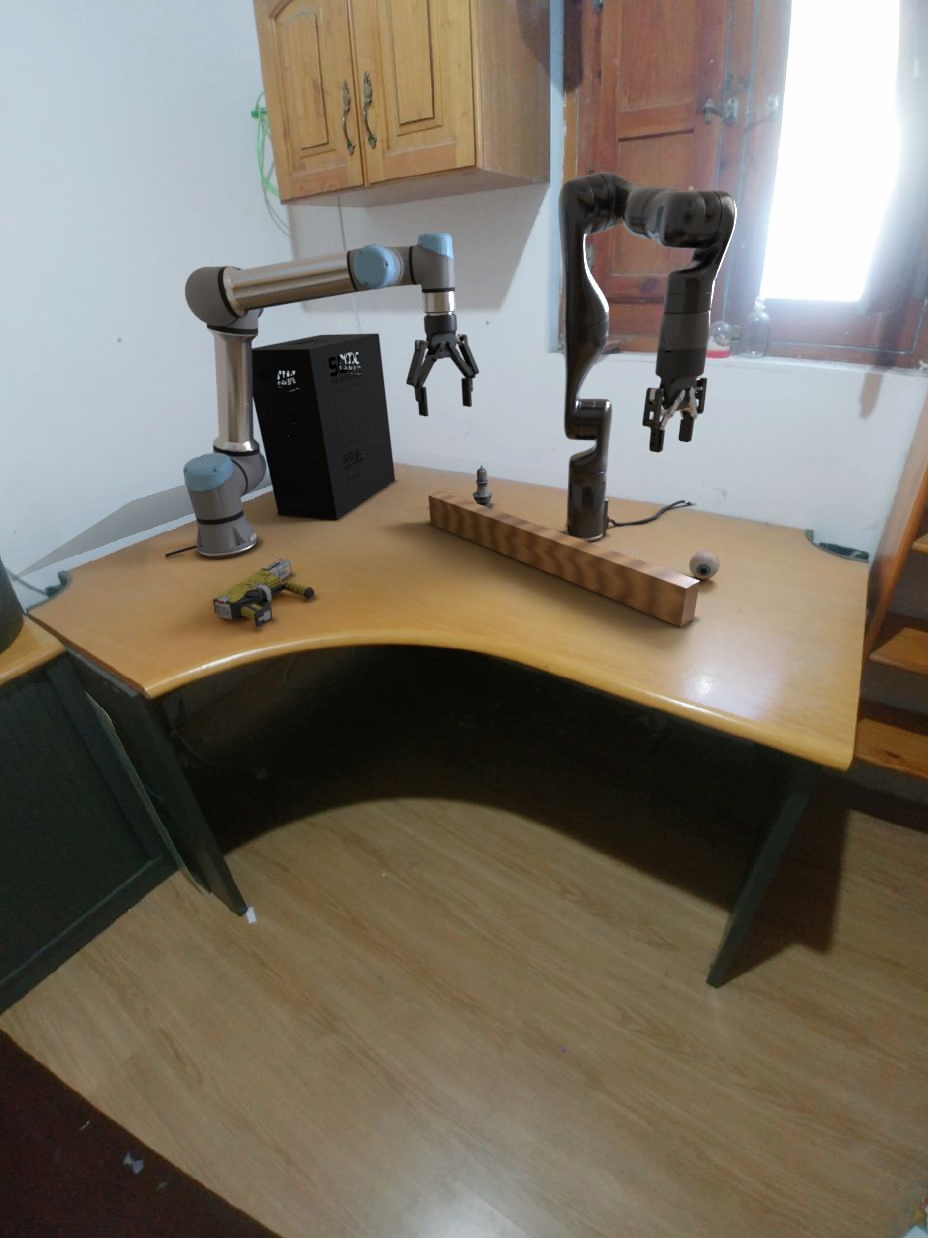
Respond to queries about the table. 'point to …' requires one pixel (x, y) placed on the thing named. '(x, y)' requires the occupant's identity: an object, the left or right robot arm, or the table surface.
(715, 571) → the eyeball
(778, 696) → the table surface
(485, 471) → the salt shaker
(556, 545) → the bar
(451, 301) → the left robot arm
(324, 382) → the cardboard box
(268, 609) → the toy gun
